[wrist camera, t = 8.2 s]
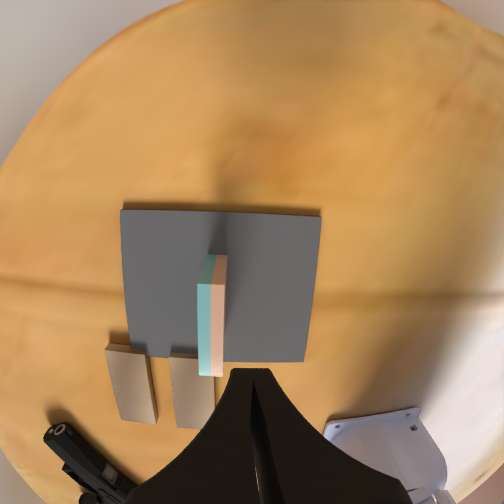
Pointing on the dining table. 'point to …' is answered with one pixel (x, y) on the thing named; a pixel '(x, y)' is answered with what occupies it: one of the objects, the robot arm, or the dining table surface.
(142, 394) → the tile rack
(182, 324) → the mat
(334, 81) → the dining table surface
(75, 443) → the handgun
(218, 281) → the tile
